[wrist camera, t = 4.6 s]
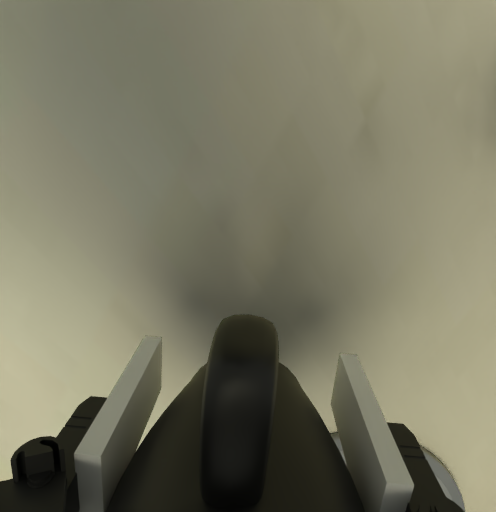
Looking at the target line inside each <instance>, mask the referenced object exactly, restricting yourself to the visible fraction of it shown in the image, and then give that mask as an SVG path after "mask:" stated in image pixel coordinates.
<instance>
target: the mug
mask: <svg viewBox="0 0 496 512" xmlns="http://www.w3.org/2000/svg"><path fill="white" fill-rule="evenodd" d="M106 512H365V510H364V507H363V504H362V502H361V499H360V497H359V494H358V492H357V489H356V487H355V484H354V482H353V479H352V477H351V474H350V472H349V470H348V468H347V466H346V464H345V462H344V460H343V458H342V455H341V453H340V451H339V449H338V447H337V445H336V444H335V442H334V440H333V438H332V436H331V435H330V433H329V431H328V429H327V427H326V426H325V424H324V422H323V420H322V419H321V417H320V415H319V413H318V412H317V410H316V409H315V407H314V405H313V404H312V402H311V401H310V399H309V398H308V397H307V395H306V394H305V392H304V391H303V389H302V388H301V386H300V384H299V382H298V381H297V379H296V377H295V376H294V375H293V374H292V373H291V372H290V370H289V369H288V368H287V367H285V366H284V365H282V364H281V363H279V346H278V336H277V332H276V330H275V327H274V325H273V323H271V322H270V321H268V320H266V319H264V318H263V317H258V316H253V315H233V316H230V317H227V318H225V319H223V320H222V322H221V323H220V325H219V326H218V328H217V330H216V332H215V335H214V338H213V341H212V345H211V348H210V353H209V357H208V362H207V364H205V365H204V366H203V367H201V368H200V369H199V371H198V372H197V373H196V374H195V375H194V377H193V378H192V380H191V381H190V382H189V383H188V384H187V386H186V387H185V388H184V389H183V390H182V391H181V392H180V393H179V395H178V396H177V397H176V398H175V399H174V400H173V402H172V403H171V404H170V405H169V406H168V408H167V409H166V410H165V411H164V412H163V414H162V415H161V416H160V418H159V419H158V420H157V422H156V423H155V424H154V426H153V427H152V428H151V430H150V431H149V433H148V434H147V436H146V437H145V439H144V440H143V442H142V443H141V445H140V446H139V448H138V449H137V451H136V452H135V454H134V456H133V457H132V459H131V461H130V463H129V465H128V466H127V468H126V470H125V472H124V473H123V475H122V477H121V479H120V481H119V482H118V485H117V487H116V489H115V491H114V494H113V496H112V498H111V500H110V503H109V505H108V507H107V510H106Z"/></svg>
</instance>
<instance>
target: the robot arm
mask: <svg viewBox="0 0 496 512" xmlns="http://www.w3.org/2000/svg"><path fill="white" fill-rule="evenodd" d="M161 368H162V337H154V336H145V337H144V338H143V340H142V342H141V343H140V345H139V347H138V348H137V350H136V352H135V353H134V355H133V357H132V358H131V360H130V361H129V363H128V365H127V366H126V368H125V370H124V371H123V373H122V375H121V376H120V378H119V380H118V381H117V383H116V385H115V386H114V388H113V390H112V391H111V393H110V395H109V396H108V398H104V397H93V396H91V397H89V398H88V399H87V400H85V401H84V402H82V403H81V404H80V405H79V406H78V407H77V409H76V410H75V411H74V413H73V414H72V416H71V418H70V419H69V420H68V422H67V423H66V424H65V427H63V429H62V430H61V432H60V433H59V434H58V436H57V437H56V438H55V437H51V436H47V437H39V438H36V439H33V440H30V441H28V442H27V443H25V444H23V445H22V446H21V447H20V448H18V449H17V450H16V451H15V452H14V454H13V456H12V458H11V467H12V474H13V479H10V480H6V481H0V512H106V510H107V507H108V505H109V503H110V500H111V498H112V496H113V494H114V491H115V489H116V487H117V485H118V482H119V481H120V479H121V477H122V475H123V473H124V472H125V470H126V468H127V466H128V465H129V463H130V461H131V459H132V457H133V456H134V454H135V452H136V449H137V447H138V444H139V442H140V439H141V437H142V434H143V432H144V430H145V427H146V425H147V422H148V420H149V417H150V415H151V412H152V410H153V408H154V405H155V403H156V400H157V398H158V395H159V393H160V390H161ZM331 407H332V411H333V415H334V418H335V422H336V426H337V430H338V434H339V438H340V441H341V445H342V449H343V453H344V457H345V461H346V464H347V468H348V470H349V472H350V474H351V477H352V479H353V482H354V484H355V487H356V489H357V492H358V494H359V497H360V499H361V502H362V504H363V507H364V510H365V512H464V511H463V509H462V508H461V507H460V506H458V505H457V504H456V503H455V502H454V501H452V500H450V499H449V498H447V497H446V496H445V494H444V492H443V490H442V488H441V486H440V484H439V482H438V480H437V478H436V476H435V474H434V472H433V470H432V469H431V467H430V465H429V463H428V461H427V460H426V457H425V455H424V453H423V451H422V450H421V449H420V445H419V443H418V441H417V440H416V438H415V436H414V434H413V433H412V432H411V431H410V430H409V429H408V428H407V427H406V426H405V425H404V424H398V423H387V422H386V420H385V418H384V416H383V413H382V411H381V409H380V406H379V404H378V402H377V400H376V397H375V395H374V393H373V391H372V388H371V386H370V384H369V382H368V379H367V377H366V375H365V373H364V370H363V368H362V366H361V363H360V361H359V359H358V357H357V355H355V354H344V353H340V354H339V360H338V365H337V371H336V377H335V382H334V388H333V394H332V400H331Z"/></svg>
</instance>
